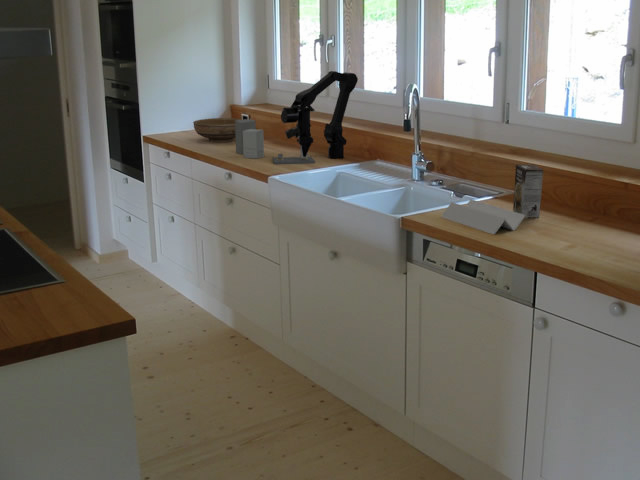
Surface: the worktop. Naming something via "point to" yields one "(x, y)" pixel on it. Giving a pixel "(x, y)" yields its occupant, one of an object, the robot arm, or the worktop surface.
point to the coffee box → (528, 190)
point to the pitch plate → (291, 160)
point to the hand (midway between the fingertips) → (304, 156)
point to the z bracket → (483, 216)
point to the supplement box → (253, 143)
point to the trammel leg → (302, 154)
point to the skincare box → (239, 128)
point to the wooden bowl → (216, 129)
